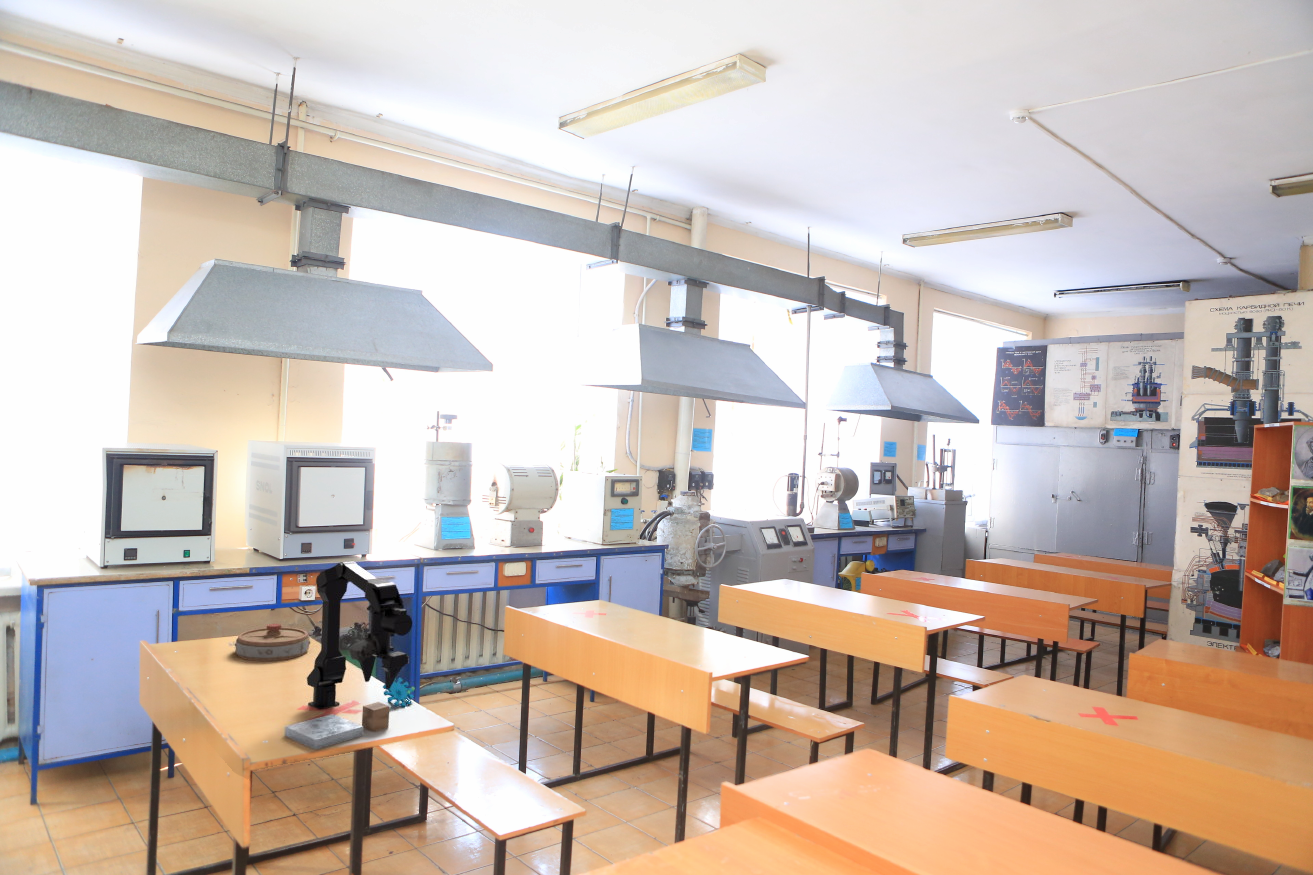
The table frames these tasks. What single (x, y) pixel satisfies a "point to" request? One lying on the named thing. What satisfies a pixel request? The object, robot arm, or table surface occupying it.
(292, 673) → the table surface
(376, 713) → the walnut block
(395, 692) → the blue spiky blob
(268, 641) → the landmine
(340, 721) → the base plate
